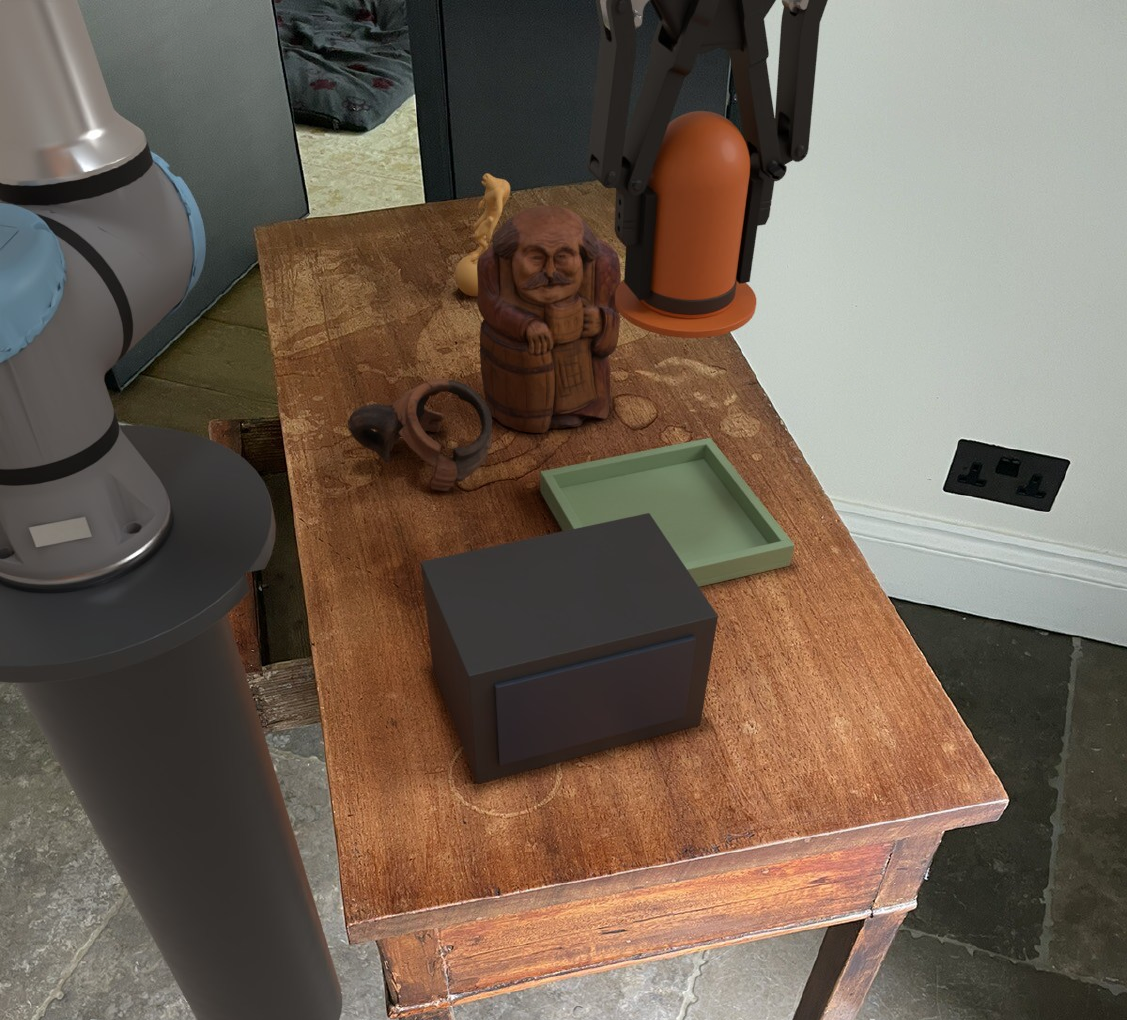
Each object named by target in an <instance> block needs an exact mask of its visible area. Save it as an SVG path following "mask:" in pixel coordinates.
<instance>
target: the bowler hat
mask: <svg viewBox="0 0 1127 1020" xmlns="http://www.w3.org/2000/svg"><path fill="white" fill-rule="evenodd" d="M749 175H750V157H749V151H748V148H747V145H746V142H745V140H744V137H743V133H741V132H740V130H739V128H738V127H737V126H736V125H735V124H734V122H732V121H731V120H729V119H728V118H727V117H725V116H723V115H721V114H719V113H716V112H713V111H708V110H695V111H690V112H687V113H684V114H682V115H679V116H678V117H676V118H674V119H673V120H671V121H669V124H668V127H667V130H666V132H665V135H664V138H663V141H662V144H661V147H660V149H659V152H658V155H657V158H656V161H655V163H654V166H653V169H652V172H651V175H650V178H649V180H648V183H647V185H648V186H649V187H650V188H651V189H652V190H653V191H654V192H655V193H656V194H657V208H656V222H655V235H654V249H653V263H652V277H651V291H650V299H645V300H639V299H638V298H637V297H636V296H635V294H634V293H633V292H632V291H631V290H630V289H629V287H628V286H627V285H626V284H625V283H624V279H622V280H621V283H620V284H619V285H618V287H617V289H616V294H615V304H616V307H617V310H618V311H619V315H621V316H622V317H623V319H625V320H626V321H628V323H630V324H632V325H633V326H635V327H638V328H639V329H641V330H643V331H647V332H650V333H652V334H653V333H654V334H656V335H657V334H658V335H660V336H665V337H672V338H680V339H681V338H682V339H701V338H702V339H703V338H711V337H717V336H722V335H725V334H729V333H731V332H734V331H736V330H739V329H740V328H742V327H744V326H745V325H746V324H747V323H749V322H750V321H751V319H752V318H753V317H754V315H755V313H756V309H757V295H756V293H755V291H754V289H752V288H753V287H751V286H750V285H749V284H748V282H747V283H741V284H739V283H738V282H737V279H736V273H737V266H738V258H739V251H740V243H741V236H742V228H743V221H744V213H745V205H746V198H747V190H748V183H749Z"/></svg>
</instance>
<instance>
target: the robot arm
mask: <svg viewBox="0 0 1127 1020" xmlns="http://www.w3.org/2000/svg"><path fill="white" fill-rule="evenodd" d="M776 1H777V0H595V5H596V10H597V17H598V21H599V22H598V23H599V27H600V39H599V49H598V59H597V67H596V68H597V69H596V75H595V77H596V78H595V87H594V94H593V106H592V115H591V123H590V132H589V134H590V135H589V143H588V152H587V162H586V167H587V170H588V171H589V172H590V173H591V174H592V176H593V177H594V178H595V179H596V180H597V181H598V182H599V183H600V184H601V185H602V187H604V188H605V189H615V205H614V206H615V208H614V228H613V229H614V233H615V236H616V238H617V239H618V240H619V241H620V243H622V245H623V246H624V247H625V256H624V257H625V258H624V260H625V261H624V279H623V280H624V283H625V284H626V285H627V286H628V287H629V289H630V290H631V291H632V292H633V293H634V294H635V296H636V297H637V298H638V299H639V300H645V299H650V291H651V277H652V263H653V249H654V235H655V222H656V208H657V194H656V193H655V192H654V191H653V190H652V189H651V188H650V187H649V186H648V185H647V183H648V180H649V178H650V175H651V172H652V169H653V166H654V163H655V161H656V158H657V155H658V152H659V149H660V147H661V144H662V141H663V138H664V135H665V132H666V130H667V127H668V124H669V123H670V122H671V121H670V120H671V118H672V116H673V113H674V110H675V107H676V104H677V101H678V98H679V96H680V93H681V91H682V87H683V84H684V82H685V80H686V77H687V76H688V75H690V74H691V73H692V71H693V69H694V67H695V64H696V61H697V58H698V55H703V54H707V53H709V52H711V51H713V50H716V49H722V50H726V52H727V54H728V56H729V60H730V65H731V72H732V78H733V83H734V89H735V95H736V101H737V106H738V113H739V119H740V125H741V131H742V136H743V138H744V140H745V142H746V145H747V148H748V151H749V157H750V175H749V183H748V190H747V198H746V205H745V213H744V221H743V228H742V236H741V243H740V251H739V258H738V266H737V273H736V279H737V282H738V283H739V284H741V283H747V284H748V283H750V282H751V277H752V276H751V274H752V269H753V268H752V267H753V261H754V253H755V246H756V240H757V232H758V226H765V225H766V224H767V223H768V220H769V218H770V214H771V206H772V200H773V194H774V188H775V182H779V181H781V180H782V179H783V178H784V177H785V176H786V173H787V170H788V169H787V167H788V166H787V164H789V163H791V162H792V161H793V162H794V163H800V162H802V161H803V160H804V159H805V158H806V157H807V155H808V154H809V149H810V138H811V126H812V116H813V115H812V114H813V103H814V93H815V92H814V90H815V80H816V79H815V78H816V70H817V59H818V48H819V46H818V45H819V37H820V27H821V21H822V18H823V15H824V12H825V10H826V7H827V4H828V1H829V0H781V4H782V6H783V8H782V14H781V21H780V22H781V23H780V36H779V50H778V67H777V82H776V97H775V109H774V104H773V97H772V90H771V82H770V75H769V68H768V62H767V60H768V58H769V56H770V54H769V53H770V52H769V45H768V37H767V31H766V30H767V29H766V24H765V23H766V22H765V18H766V17H767V15H768V14H769V12H770V11H771V9H772V8H773V6H774V4H775V3H776ZM648 2H650V4H651V6H652V8H653V10H654V11H655V14H656V15H657V17H658V19H659V20H658V23H657V26H656V29H655V32H654V35H653V38H652V41H651V45H650V60H649V63H648V66H647V69H646V72H645V75H644V78H643V82H642V84H641V87H640V90H639V93H638V96H637V100H636V102H635V105H634V108H633V111H632V114H631V117H630V121H629V123H628V116H629V110H630V102H631V93H632V87H633V78H634V71H635V64H636V63H635V62H636V56H637V29H638V28H640V27H641V26H642V25H643V19H644V10H645V7H646V5H647V4H648ZM82 13H83V12H82V11H81V7H80V5H79V2H78V0H0V583H1V584H3V585H5V586H8V587H11V588H14V589H18V590H22V591H28V592H37V593H61V592H70V591H77V590H83V589H87V588H91V587H95V586H98V585H102V584H105V583H107V582H110V581H113V580H115V579H117V578H120V577H122V576H124V575H126V574H128V573H130V572H132V571H133V570H135V569H137V568H138V567H140V566H141V565H143V564H144V563H146V562H147V561H148V560H149V559H151V558H152V557H153V556H154V555H155V554H156V553H157V552H158V551H159V550H160V549H161V548H162V546H163V545H164V544H165V542H166V541H167V539H168V537H169V536H170V533H171V531H172V528H173V523H174V515H173V510H172V506H171V503H170V500H169V497H168V494H167V492H166V490H165V488H164V486H163V485H162V483H161V481H160V479H159V478H158V477H157V475H156V474H155V473H154V472H153V470H152V469H151V468H150V466H149V465H148V464H147V463H146V461H145V460H144V459H143V458H142V456H141V455H140V454H139V452H138V451H137V450H136V449H135V447H134V446H133V445H132V444H131V442H130V441H129V440H128V438H127V437H126V436H125V435H124V433H123V432H122V430H121V428H120V426H119V425H120V423H119V420H118V418H117V415H116V412H115V408H114V406H113V403H112V400H111V396H110V393H109V391H108V387H107V385H106V382H105V376H106V373H107V372H108V371H109V370H111V369H112V367H114V366H115V364H117V363H118V362H119V361H120V360H121V359H122V358H123V357H124V356H126V354H127V353H128V352H129V351H130V350H132V349H133V347H135V346H136V345H137V344H138V343H139V342H140V341H141V340H142V339H143V338H145V336H146V335H147V334H149V333H150V332H151V330H153V328H154V327H156V326H157V324H158V323H160V322H162V321H164V320H166V319H168V318H169V317H170V316H172V315H173V314H174V313H175V312H176V311H178V309H179V308H180V307H181V306H182V304H183V302H184V301H185V300H186V299H187V296H188V294H190V292H191V290H192V289H193V288H194V287H195V286H196V284H197V282H198V281H199V279H200V276H201V274H202V272H203V269H204V264H205V260H206V259H205V258H206V251H207V243H206V242H207V240H206V231H205V226H204V220H203V218H202V214H201V212H200V208H199V206H198V204H197V201H196V199H195V197H194V196H193V193H192V192H191V189H190V188H189V187H188V185H187V183H186V182H185V181H184V179H183V178H182V177H181V176H178V175H177V176H176V175H175V174H174V173H172V172H171V171H170V169H171V166H170V164H169V163H168V162H167V161H166V160H165V159H164V158H162V157H161V156H159V155H158V154H156V153H154V152H152V151H151V149H150V146H149V143H148V140H147V137H146V134H145V132H144V131H143V130H142V129H141V128H140V127H139V126H137V125H135V124H134V123H133V122H131V121H130V120H128V119H127V118H125V117H123V116H122V115H120V114H119V113H118V112H117V111H116V110H115V108H114V105H113V103H112V100H111V97H110V93H109V91H108V88H107V84H106V82H105V79H104V76H103V73H102V71H101V70H102V69H101V67H100V63H99V62H98V57H97V55H96V53H95V49H94V45H93V43H92V40H91V37H90V34H89V31H88V29H87V26H86V25H87V24H86V21H85V19H84V17H83V14H82ZM627 123H628V125H627Z"/></svg>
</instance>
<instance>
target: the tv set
mask: <svg viewBox="0 0 1127 1020" xmlns="http://www.w3.org/2000/svg"><path fill="white" fill-rule="evenodd" d="M420 571H421V578H422V587H423V596H424V602H425V603H424V605H425V614H426V621H427V622H426V623H427V631H428V632H427V633H428V639H429V641H428V642H429V648H430V658H431V666H432V673H433V675H434V678H435V680H436V683H437V685H438V688H439V691H440V693H441V696H442V699H443V700H444V703H445V706H446V709H447V711H448V713H449V716H450V719H451V721H452V724H453V726H454V729H455V732H456V734H457V736H458V740H459V742H460V744H461V748H462V750H463V752H464V754H465V758H466V759H467V762H468V765H469V768H470V770H471V772H472V775H473V777H474V779H475V783H476V784H477V785H478V784H479V785H480V784H483V783H486V782H490V781H493V780H498V779H501V778H506V777H509V776H512V775H516V774H520V773H524V772H528V771H530V770H535V769H539V768H542V767H543V768H544V767H546V766H550V765H553V764H557V763H561V762H566V761H570V760H572V759H576V758H580V757H584V756H587V755H591V754H595V753H600V752H603V751H607V750H611V749H614V748H617V747H618V748H619V747H623V746H627V745H629V744H633V743H636V742H637V743H638V742H640V741H644V740H648V739H652V738H656V737H660V736H663V735H667V734H671V733H674V732H679V731H683V730H685V729H690V728H693V727H696V726H697V727H698V726H701V723H702V717H703V711H704V705H705V700H706V699H705V698H706V693H707V686H708V680H709V674H710V668H711V663H712V662H711V660H712V656H713V650H714V645H715V637H716V631H717V625H718V619H719V615H718V614H717V612H716V611H715V609H714V607H713V606H712V604H711V603H710V602H709V600H708V598H707V597H706V595H705V594H704V593H703V591H702V589H701V587H698V585H697V584H696V582H695V581H694V579H693V578H692V576H691V575H690V573H689V572H688V570H687V569H686V567H685V566H684V564H683V563H682V561H681V560H680V558H679V557H678V555H677V554H676V552H675V551H674V549H673V548H672V546H671V545H670V543H669V542H668V540H667V539H666V537H665V536H664V534H663V533H662V531H661V530H660V528H659V527H658V525H657V524H656V522H655V521H654V519H653V518H652V516H651V515H650V513H646V514H642V515H637V516H632V517H628V518H623V519H618V520H614V521H609V522H604V523H600V524H595V525H590V526H586V527H581V528H576V529H571V530H567V531H562V530H561V531H557V532H553V533H548V534H544V535H540V536H534V537H530V538H525V539H521V540H516V541H512V542H511V541H510V542H507V543H501V544H497V545H492V546H488V547H483V548H479V549H473V550H469V551H463V552H459V553H455V554H449V555H446V556H441V557H435V558H431V559H427V560H421V561H420Z"/></svg>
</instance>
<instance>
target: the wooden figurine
mask: <svg viewBox="0 0 1127 1020" xmlns="http://www.w3.org/2000/svg"><path fill="white" fill-rule="evenodd" d="M477 278H478V296H476V303H477V308H478V311H479V313H480V316H481V317H482V318H483V320H482V321H481V322H480V328H479V359H480V371H481V372H480V373H481V379H482V386H483V394H484V399H485V403H486V405H487V406H488V408H489V411H490V413H491V418H493V419H495V420H497V422H499V423H500V424H501V425H503V426H505V427H509V428H511V429H513V430H515V431H519V432H523V433H531V434H543V433H546V432H547V431H548V430H550V429H559V430H562V429H563V430H564V429H566V428H574V427H575V428H576V427H580V426H581V425H582V424H583V422H584V420H586V419H601V420H605V419H607V418H608V416H609V413H610V404H611V366H610V365H611V364H610V358H609V357H610V355H612V354H614V352H615V351H616V349H617V346H618V343H619V337H620V325H621V317H620V313H619V311H618V310H617V307H616V304H615V294H616V289H617V287H618V285H619V284H620V283H621V281H622V275H621V263H620V258H619V254H618V253H617V251H616V250H615V248H614V247H613V246H612V245H611V244H610V243H608V242H606V241H604V240H602V239H601V238H599V237H597V236H596V234H595V233H594V231H593V230H592V229H591V227H590V226H589V225H588V223H587V222H586V221H585V220H584V218H582V217H581V215H578V214H577V213H575V212H574V211H572V210H571V209H568V208H566V207H564V206H557V205H556V206H555V205H546V204H541V205H536V206H532V207H529V208H525V209H522V210H520V211H518V212H517V213H515V214H514V215H512V216H511V217H510V218H508V219H507V220H506V221H505V222H504V223H503V224H502V225H501V226H500V227H499V228H498V229H497V230H496V232H495V233H493V235H492V245H491V246H488V249H487V250H486V251H484V252H483V253H482V254H481V255H480V257H479V258H478V262H477Z"/></svg>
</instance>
